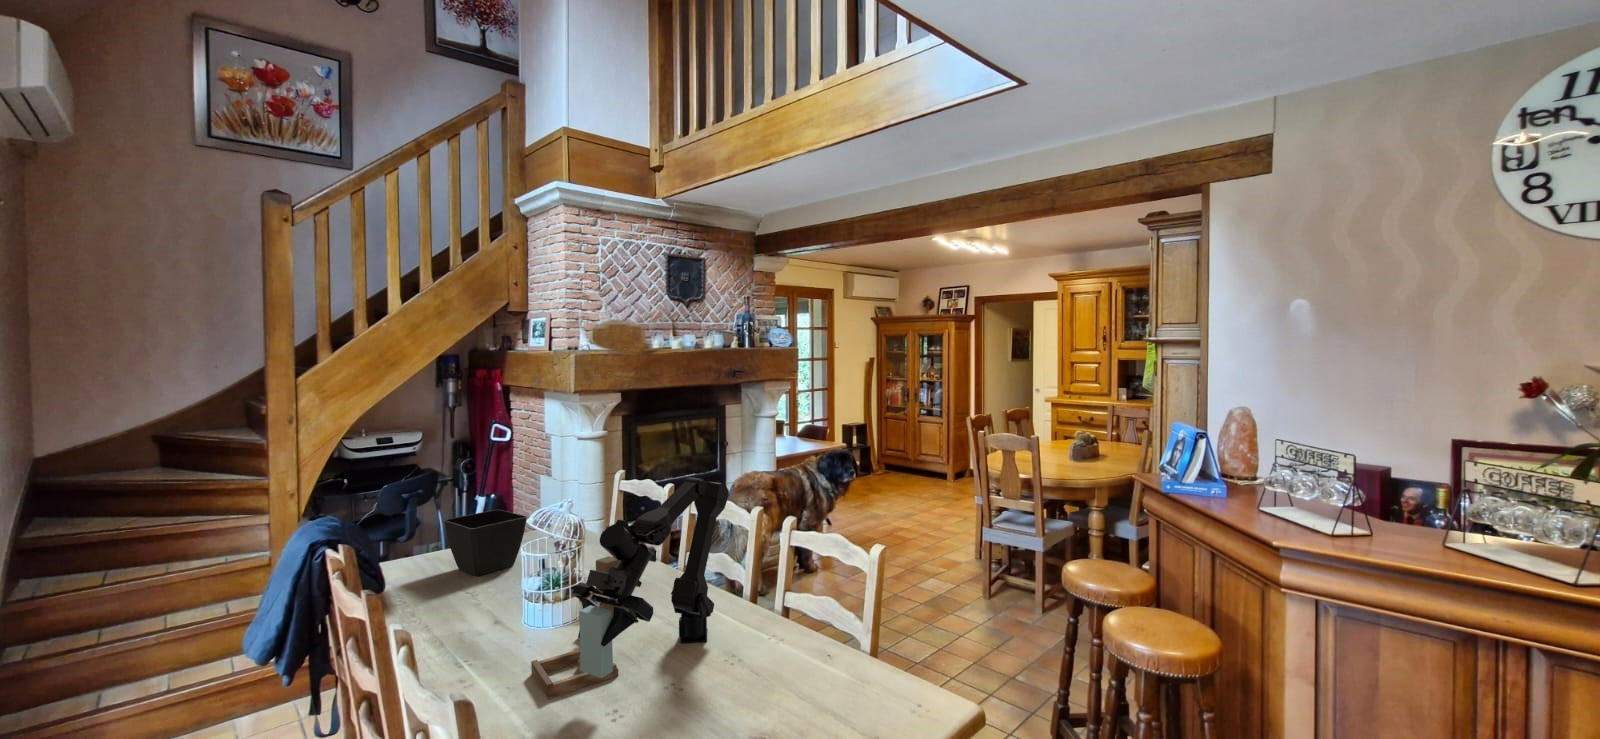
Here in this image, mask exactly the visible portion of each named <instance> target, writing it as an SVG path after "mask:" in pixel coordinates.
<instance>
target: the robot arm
mask: <svg viewBox="0 0 1600 739" xmlns="http://www.w3.org/2000/svg"><path fill="white" fill-rule="evenodd" d="M729 497H730V490H729V488H728V486H727V485H726V484H725V483H724V482H716V481H715V482H714V481H708V480H706V479H705V480H704V479H703V478H697V477H687V478H685V479H684V480H683V482H682V484H681V485H680V486H679V487H678V488H677V489H676V490H674V492H673V493H672V494H670V496H669V497H668V498H666V499H665V500H664V501H663V502H662V504H660V506H659V507H657V508H656V509H652V510H649V511H647V512H645V513H643V514H642V515H640V516H639V517H637V518H636V519H635V521H634V522H633V523H631V524H630V525H629V523H628V522H627V521H626V520H624V519H617V520H616V522H615V523H614V524H611V525H609V526H608V527H606V528H605V530H603V531H602V532H601V534H600V536H599V544H600V545H601V548H603V549H604V550H605V551H606V552H607V553H608V554H610V556H611V557H614V558H615V559H617V560H620V561H619V563H618V565H617V567H616V568H614V567H611V568H610V569H609V571H608V572H601V571H596V569H595V570H594V569H589V573H588V575H587V579H586V583H583V582H580V583H578V584H576V585H575V587H574V589H573V590H572V592H571V595H572V596H574V597H575V598H577V599H578V601H579V603H581V605H582V609H584V608H586V607H588V606H590V605H591V606H595V607H599V606H600V605H601V604H606V605H610V606H614V613H613V619H612V620H611V622H610V624H609V626H608V628H607V630H606V632H605V634H604V636H603V639H602V641H601V645H602V646H606V645H607V644H608V643H609V642H611V641H612V642H613V640H615V638H617V637H618V636H619V635H620V634H622V633H623V632H624V631H625V630H627V629H628V628H630V627H631V626H633V625H634V624H638V623H639V622H640V621H643V622H644V621H645V622H648V623H650V622H651V619H652V617H653V615H654V606H653V605H651V604H650V603H649V602H648V601H647V600H645V599H644V598H643V597H640V596H635V595H633V593H634V592H635V589H636V587H637V588H641V587H642V584H643V583H642V581H641V580H640V579H641V578H642V576H643V574H644V571H645V570H646V567H647V566H648V564H649V562H653V563H656V562H657V555H656V550H655V548H649V547H648V546H647V545H652V546H661V545H662V544H664V543H665V541H666V540H667V538H668V537H669V536H670V534H671V533H672V527H673V524H674V522H675V521H676V520H677V519H678V518H679V517H680V516H681V515H682V514H683V513H684V512H685V511H686V510H687V509H688V508H689V506H691V505H692V503H694V506H695V510H696V513H697V515H696V520H695V525H694V528H693V529H694V530H693V534H692V539H691V542H690V547H689V551H688V556H687V562H686V565H685V568H684V572H683V573H682V575H680V577H676V578H675V579H674V581H673V587H672V590H671V592H670V595H671V597H670V598H671V599H670V600H671V603H672V605H673V611H674V613H675V614H679V615H680V617H679V619H678V637H679V638H680V643H681V644H686V643H687V644H688V643H701V642H703V643H705V642H707V641H708V618H710V617H711V615H712V614H713V612H714V607H715V603H714V601H713V600H711V599H710V597H709V596H708V591H709V585H708V583H707V580H706V577H705V574H706V568H707V565H708V560H709V559H708V558H709V555H710V551H711V544H712V540H713V535H714V532H715V526H716V522H717V518H718V517H719V516H720V514H721V513H722V512H723V511H724V510H725V508H726V505H727V503H728V499H729ZM596 588H597V589H598V590H600V591H602V592H603V593H601V592H600V591H598V590H597V589H596ZM609 600H610V601H609ZM616 602H619V603H616ZM577 635H578V636H577V637H578V639H579V640H580V629H579V631H578V634H577Z"/></svg>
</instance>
